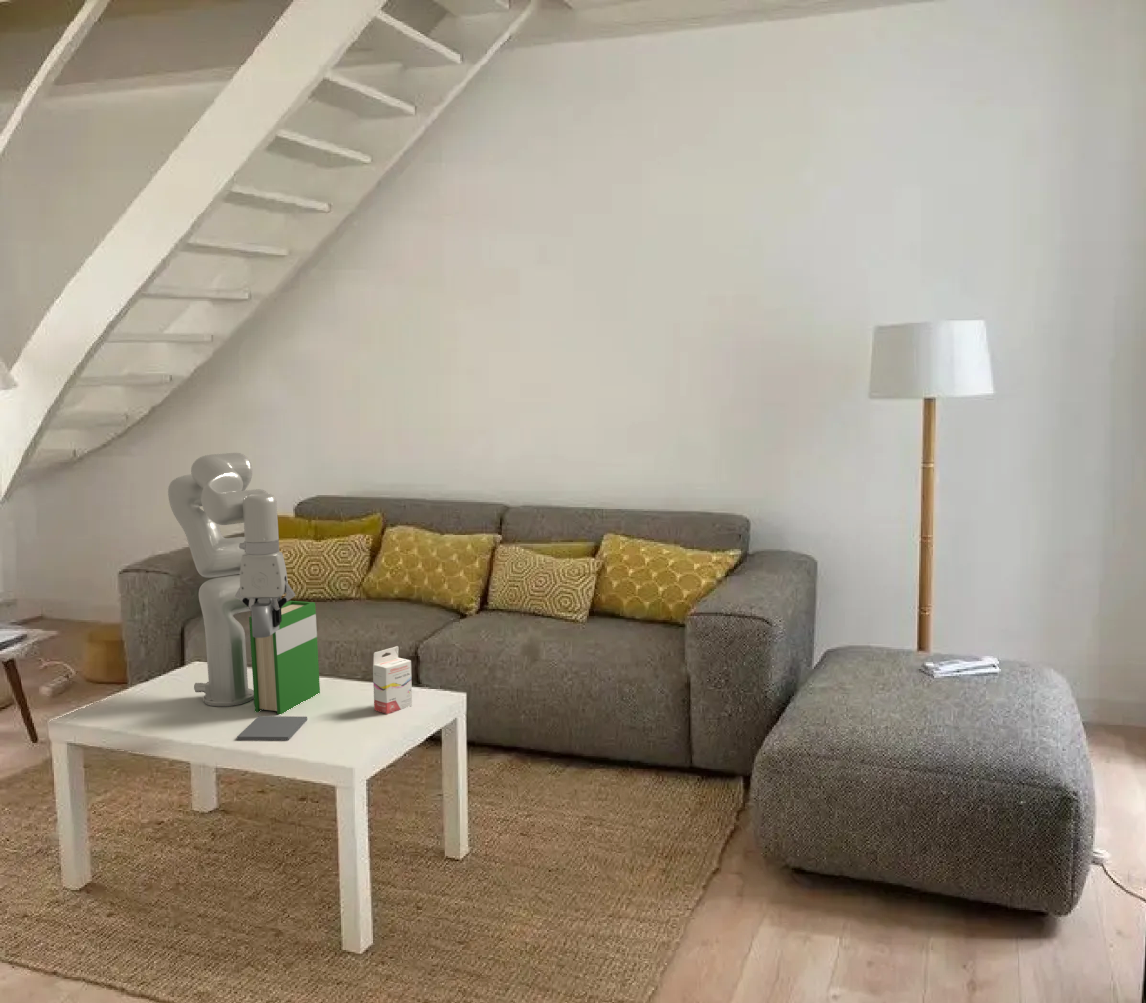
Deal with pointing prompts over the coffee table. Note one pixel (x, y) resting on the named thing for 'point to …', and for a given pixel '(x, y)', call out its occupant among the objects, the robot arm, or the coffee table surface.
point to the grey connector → (263, 618)
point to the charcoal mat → (272, 728)
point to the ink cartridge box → (391, 681)
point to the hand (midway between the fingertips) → (266, 624)
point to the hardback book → (286, 660)
